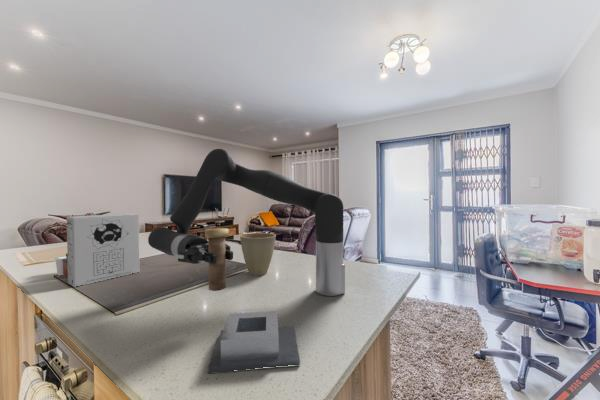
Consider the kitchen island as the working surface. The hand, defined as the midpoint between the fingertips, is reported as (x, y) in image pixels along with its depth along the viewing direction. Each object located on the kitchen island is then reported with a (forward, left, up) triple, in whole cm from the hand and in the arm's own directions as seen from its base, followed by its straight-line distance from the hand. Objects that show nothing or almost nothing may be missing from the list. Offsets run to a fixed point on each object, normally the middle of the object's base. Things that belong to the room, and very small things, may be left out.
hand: (223, 257), depth 62 cm
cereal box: (+54, -47, -18) cm, 74 cm away
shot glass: (+74, -55, -18) cm, 94 cm away
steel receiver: (-8, +9, -18) cm, 21 cm away
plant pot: (-6, -46, -18) cm, 50 cm away
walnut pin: (+2, -2, -8) cm, 8 cm away
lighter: (+69, -52, -18) cm, 88 cm away
